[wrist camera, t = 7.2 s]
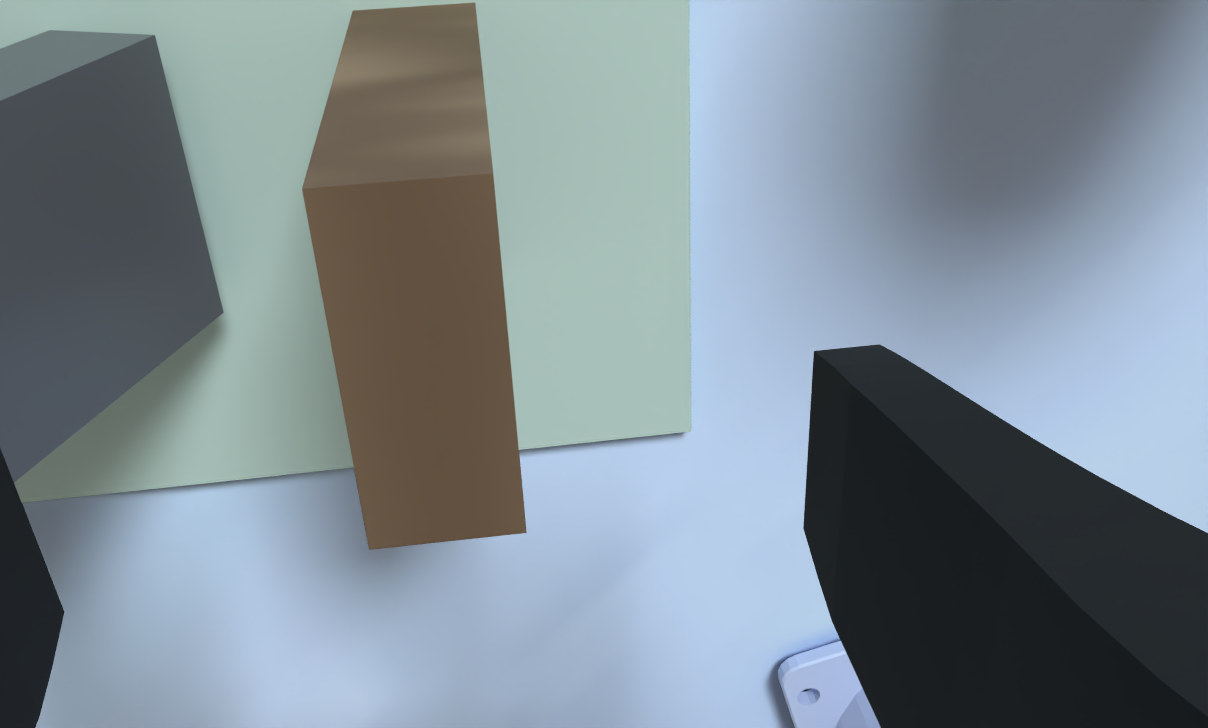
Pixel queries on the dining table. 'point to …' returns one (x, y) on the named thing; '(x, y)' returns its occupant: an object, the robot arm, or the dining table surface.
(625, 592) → the dining table surface
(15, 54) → the domino
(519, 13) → the mat
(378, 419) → the domino
